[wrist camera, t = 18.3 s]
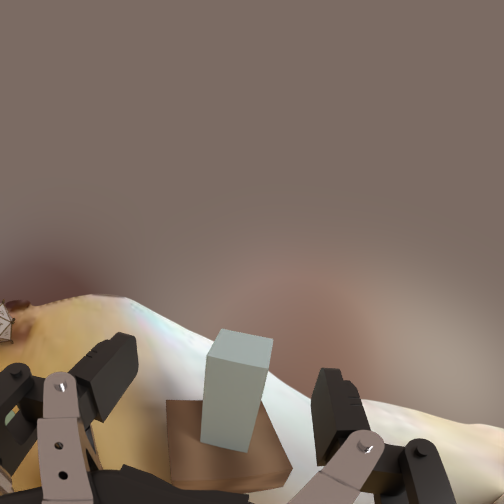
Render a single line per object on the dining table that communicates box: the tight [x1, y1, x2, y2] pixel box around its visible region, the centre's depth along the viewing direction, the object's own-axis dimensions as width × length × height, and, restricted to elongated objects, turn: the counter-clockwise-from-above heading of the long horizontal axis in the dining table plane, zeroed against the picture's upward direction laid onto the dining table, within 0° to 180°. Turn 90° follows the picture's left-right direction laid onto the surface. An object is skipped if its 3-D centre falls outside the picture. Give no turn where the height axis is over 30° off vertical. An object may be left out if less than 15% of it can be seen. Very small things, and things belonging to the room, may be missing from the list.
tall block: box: [200, 329, 273, 453], centre depth 24 cm, size 5×5×12 cm
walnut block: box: [166, 400, 293, 494], centre depth 25 cm, size 12×12×5 cm
